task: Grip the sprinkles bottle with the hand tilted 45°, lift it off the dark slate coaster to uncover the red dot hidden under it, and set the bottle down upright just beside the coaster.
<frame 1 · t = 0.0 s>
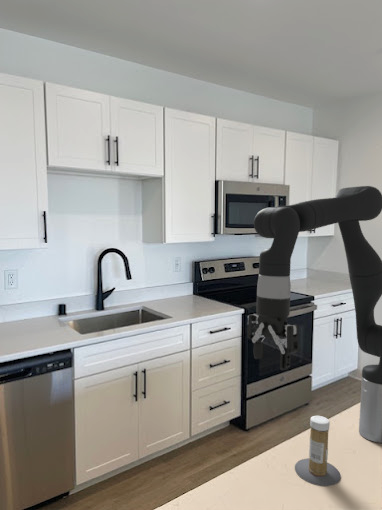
hand: (270, 363, 90), 29 cm above the countertop, tool pointing down, fingers open, 8 cm apart
sprinkles bottle: (317, 471, 97), resting on coaster
coaster: (317, 471, 97), on the countertop
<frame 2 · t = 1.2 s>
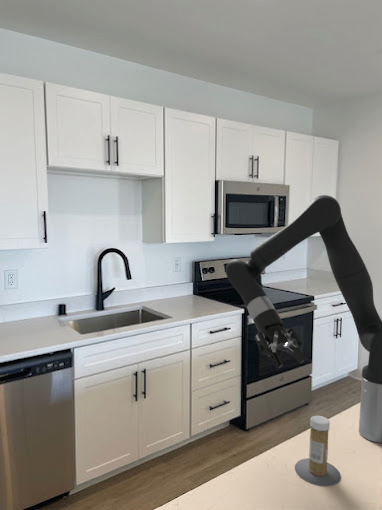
hand: (291, 364, 106), 24 cm above the countertop, tool tilted 45°, fingers open, 8 cm apart
nothing on the countertop moved.
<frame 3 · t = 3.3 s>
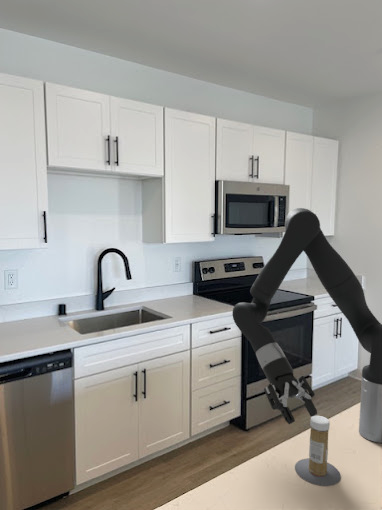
hand: (303, 419, 101), 11 cm above the countertop, tool tilted 45°, fingers open, 8 cm apart
nothing on the countertop moved.
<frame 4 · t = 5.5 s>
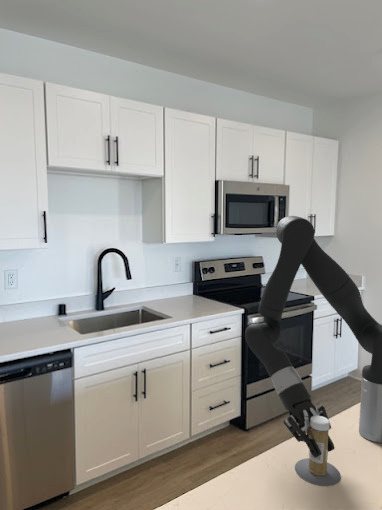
hand: (324, 452, 95), 6 cm above the countertop, tool tilted 45°, fingers closed on sprinkles bottle, 4 cm apart
sprinkles bottle: (317, 471, 97), resting on coaster, touching gripper
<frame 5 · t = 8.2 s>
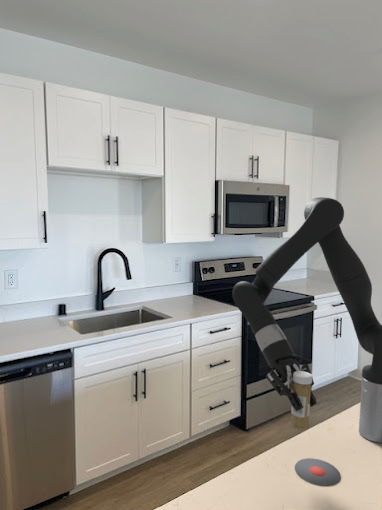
hand: (306, 407, 94), 17 cm above the countertop, tool tilted 45°, fingers closed on sprinkles bottle, 4 cm apart
sprinkles bottle: (299, 427, 96), point 11 cm above the countertop, touching gripper
when the fingers open (7 cm above the countertop, at t = 10.8 s): sprinkles bottle drops 1 cm, on the countertop.
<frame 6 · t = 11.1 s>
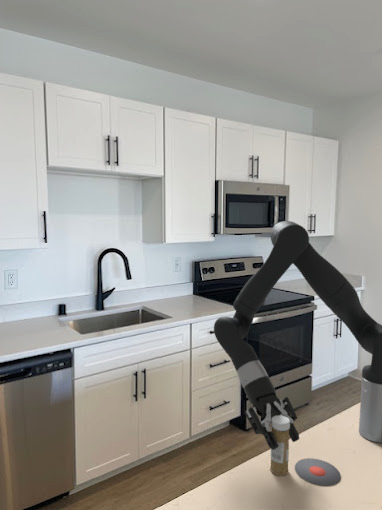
hand: (286, 444, 95), 8 cm above the countertop, tool tilted 45°, fingers open, 6 cm apart
sprinkles bottle: (278, 471, 97), on the countertop
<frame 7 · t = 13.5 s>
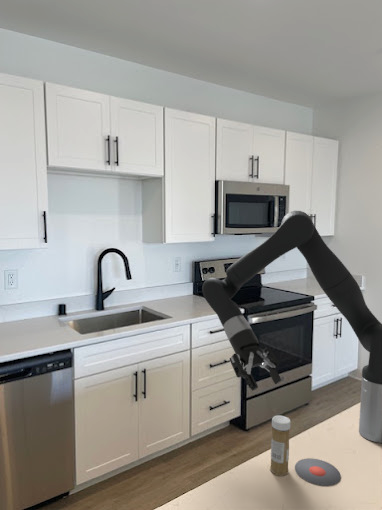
hand: (267, 385, 105), 18 cm above the countertop, tool tilted 45°, fingers open, 8 cm apart
nothing on the countertop moved.
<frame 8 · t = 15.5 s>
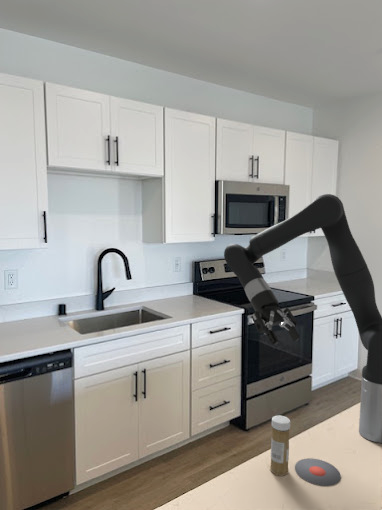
hand: (286, 341, 111), 29 cm above the countertop, tool tilted 45°, fingers open, 8 cm apart
nothing on the countertop moved.
at the end: sprinkles bottle inside the target area on the countertop beside the coaster (0.8 cm from its centre), on the countertop; sprinkles bottle tilted 0°; sprinkles bottle touching countertop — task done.
